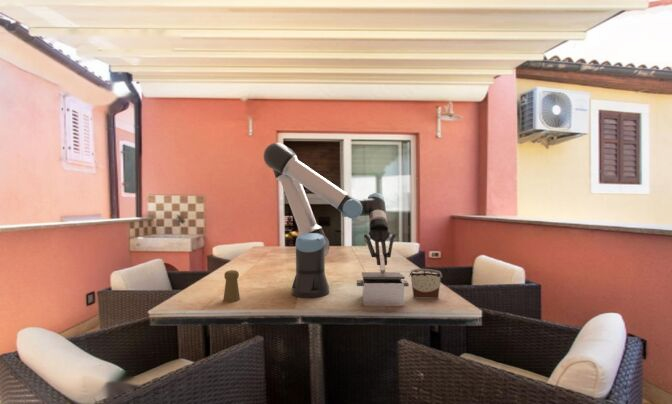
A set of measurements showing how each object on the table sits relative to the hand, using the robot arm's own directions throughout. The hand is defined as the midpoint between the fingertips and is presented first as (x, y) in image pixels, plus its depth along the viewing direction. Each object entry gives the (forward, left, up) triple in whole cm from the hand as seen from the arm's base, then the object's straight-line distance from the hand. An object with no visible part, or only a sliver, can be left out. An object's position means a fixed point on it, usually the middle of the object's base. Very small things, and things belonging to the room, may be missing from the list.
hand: (382, 271), depth 117 cm
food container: (+13, +14, -11) cm, 22 cm away
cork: (-53, -19, -11) cm, 58 cm away
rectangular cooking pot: (-1, +1, -11) cm, 11 cm away
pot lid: (-1, +2, -2) cm, 3 cm away
